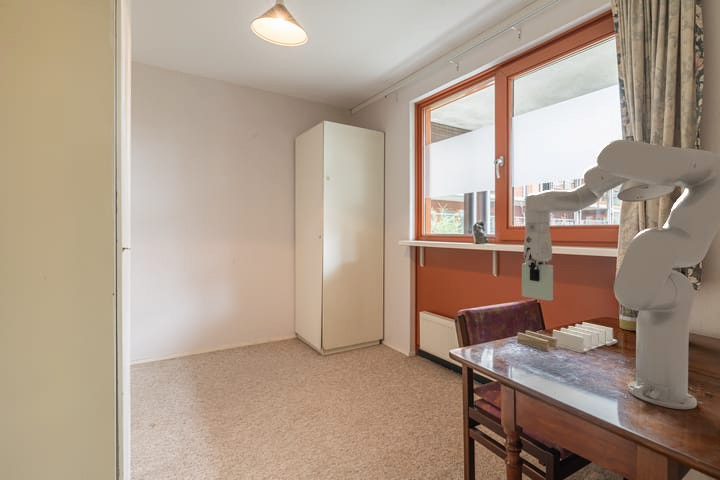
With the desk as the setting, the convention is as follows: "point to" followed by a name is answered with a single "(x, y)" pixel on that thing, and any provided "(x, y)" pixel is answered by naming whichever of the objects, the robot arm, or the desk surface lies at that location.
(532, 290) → the plate
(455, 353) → the desk surface
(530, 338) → the plate stand
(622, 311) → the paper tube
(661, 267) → the robot arm
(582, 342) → the dish rack
